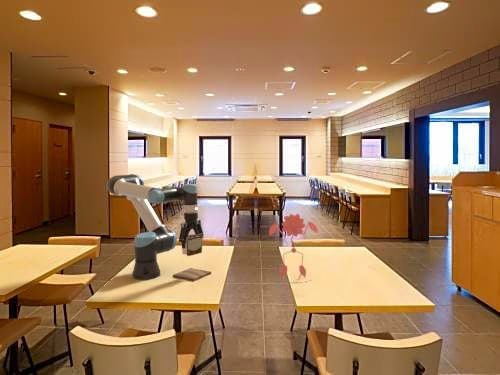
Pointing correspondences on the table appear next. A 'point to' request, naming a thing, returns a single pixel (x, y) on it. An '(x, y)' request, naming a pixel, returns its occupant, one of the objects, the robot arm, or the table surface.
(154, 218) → the robot arm
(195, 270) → the walnut board
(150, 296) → the table surface
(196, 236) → the food container
